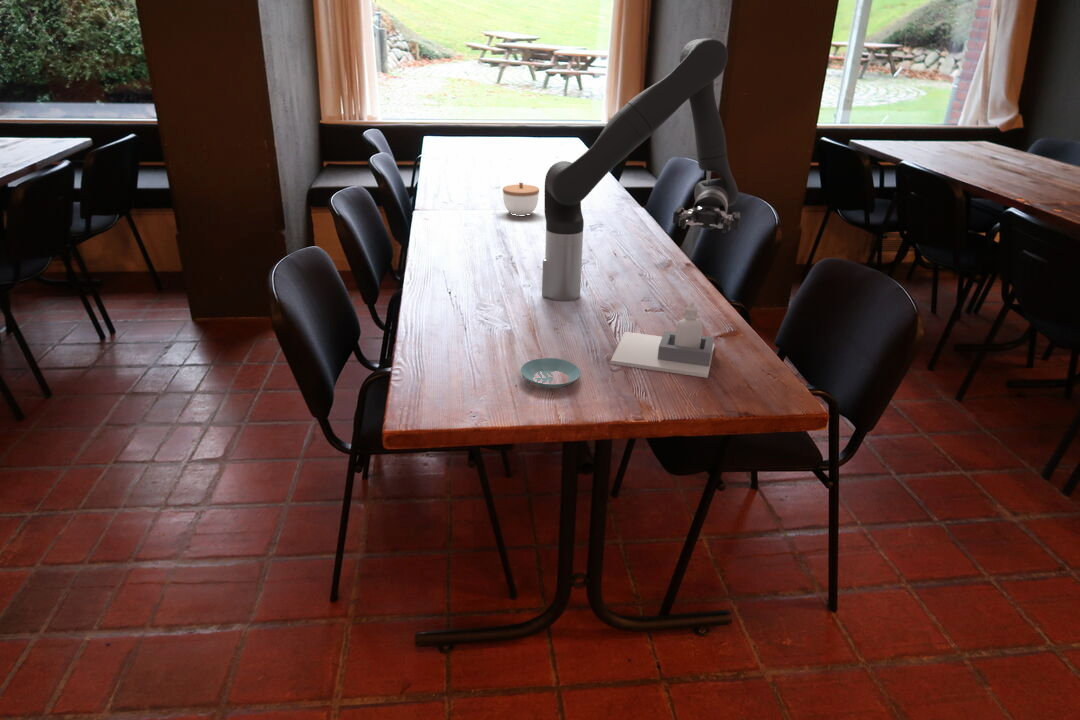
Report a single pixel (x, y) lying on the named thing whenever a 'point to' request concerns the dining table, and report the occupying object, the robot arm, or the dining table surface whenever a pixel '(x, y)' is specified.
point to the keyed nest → (664, 354)
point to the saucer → (549, 371)
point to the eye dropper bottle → (689, 329)
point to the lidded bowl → (520, 198)
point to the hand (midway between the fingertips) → (703, 226)
